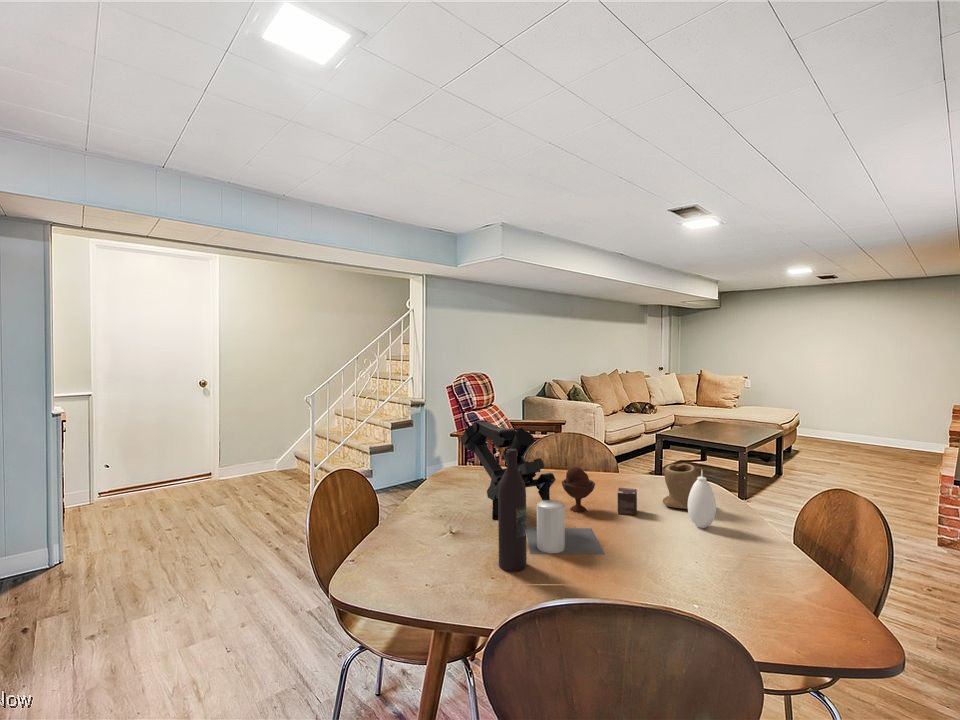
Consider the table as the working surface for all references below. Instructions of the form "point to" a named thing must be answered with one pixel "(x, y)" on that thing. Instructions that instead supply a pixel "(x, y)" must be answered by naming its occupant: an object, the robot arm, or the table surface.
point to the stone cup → (679, 484)
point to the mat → (570, 542)
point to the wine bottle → (512, 517)
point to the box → (627, 501)
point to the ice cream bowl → (577, 487)
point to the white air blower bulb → (701, 503)
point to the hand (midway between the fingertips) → (536, 510)
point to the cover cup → (550, 526)
